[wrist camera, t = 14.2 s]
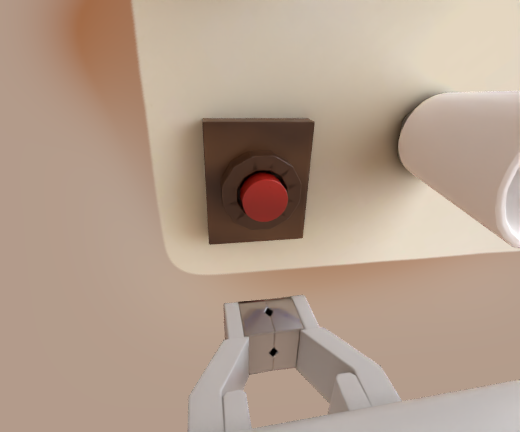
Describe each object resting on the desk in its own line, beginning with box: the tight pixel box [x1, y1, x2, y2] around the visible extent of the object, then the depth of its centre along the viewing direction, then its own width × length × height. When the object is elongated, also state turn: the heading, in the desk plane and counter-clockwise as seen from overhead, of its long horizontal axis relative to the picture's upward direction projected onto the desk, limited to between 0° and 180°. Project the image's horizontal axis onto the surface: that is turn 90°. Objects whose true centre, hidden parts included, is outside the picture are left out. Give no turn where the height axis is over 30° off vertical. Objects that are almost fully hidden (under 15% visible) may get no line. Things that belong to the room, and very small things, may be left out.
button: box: [240, 173, 288, 222], centre depth 25 cm, size 4×4×2 cm
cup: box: [398, 91, 520, 248], centre depth 23 cm, size 10×10×13 cm
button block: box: [202, 118, 314, 244], centre depth 26 cm, size 11×9×4 cm
